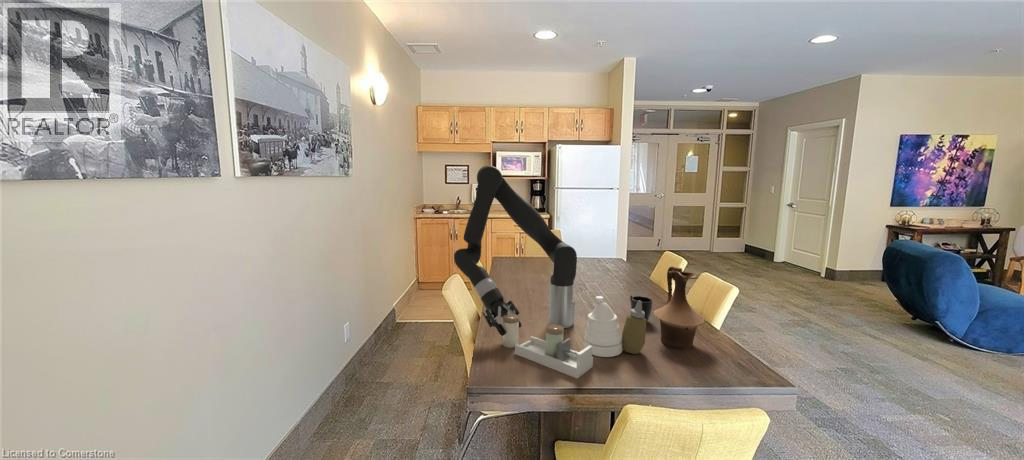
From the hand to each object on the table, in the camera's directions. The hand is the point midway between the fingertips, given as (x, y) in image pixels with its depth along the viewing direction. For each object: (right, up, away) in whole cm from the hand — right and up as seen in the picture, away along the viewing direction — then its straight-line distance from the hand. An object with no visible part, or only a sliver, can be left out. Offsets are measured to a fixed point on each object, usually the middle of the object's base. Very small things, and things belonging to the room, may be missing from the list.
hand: (512, 331), depth 135 cm
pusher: (+18, -6, -14) cm, 24 cm away
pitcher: (+60, -6, +5) cm, 61 cm away
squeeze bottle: (+41, -6, -3) cm, 42 cm away
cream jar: (-1, -5, +1) cm, 5 cm away
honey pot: (+32, -6, -2) cm, 32 cm away
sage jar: (+14, -6, -11) cm, 18 cm away
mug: (+54, -2, +27) cm, 60 cm away
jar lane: (+13, -7, -10) cm, 18 cm away
